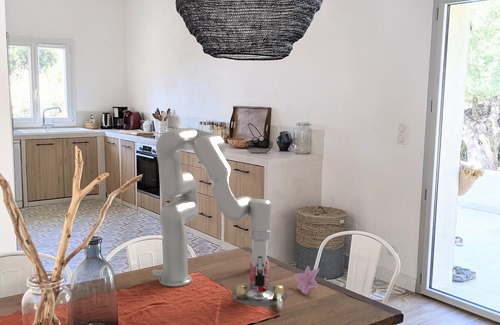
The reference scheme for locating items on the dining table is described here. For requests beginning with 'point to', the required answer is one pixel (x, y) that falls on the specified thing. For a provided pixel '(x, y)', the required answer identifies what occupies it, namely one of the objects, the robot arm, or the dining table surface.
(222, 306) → the dining table surface
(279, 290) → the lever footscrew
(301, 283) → the lily
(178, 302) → the dining table surface
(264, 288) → the soda can
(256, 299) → the plate
